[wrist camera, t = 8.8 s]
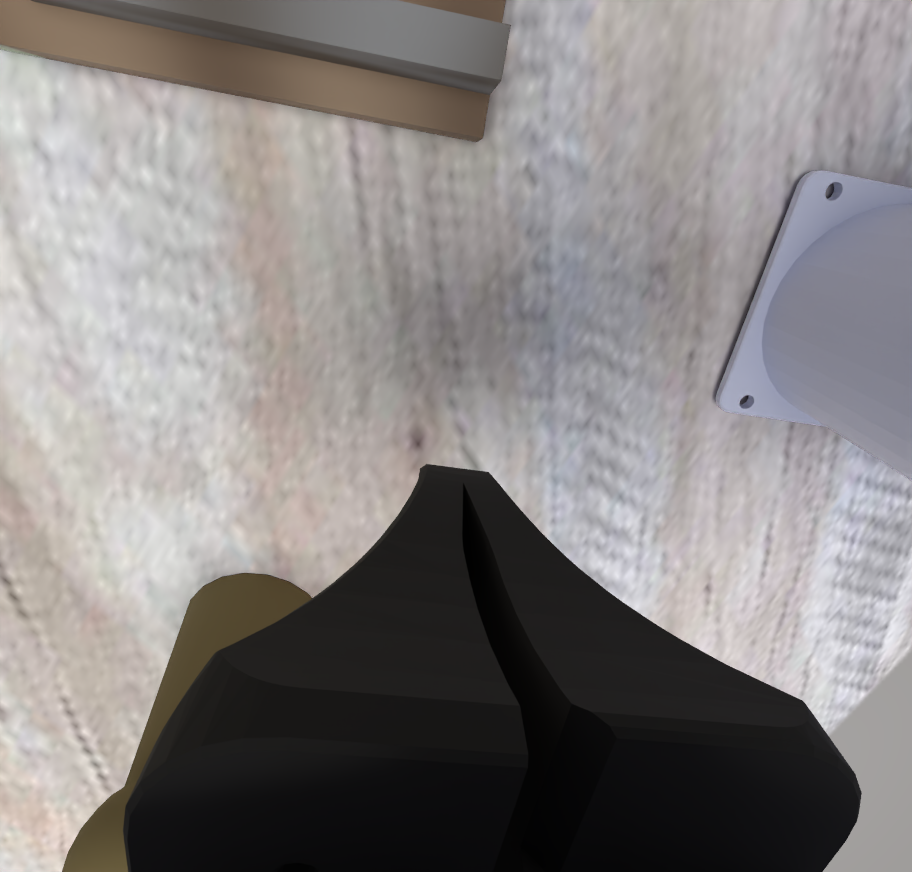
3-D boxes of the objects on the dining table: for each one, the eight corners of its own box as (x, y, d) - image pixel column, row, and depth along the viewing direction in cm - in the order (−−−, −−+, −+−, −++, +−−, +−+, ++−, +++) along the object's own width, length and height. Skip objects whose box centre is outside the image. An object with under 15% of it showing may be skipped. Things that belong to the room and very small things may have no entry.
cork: (288, 555, 23) (179, 854, 13) (350, 657, 25) (298, 973, 15) (156, 598, 23) (-47, 914, 13) (229, 693, 26) (103, 1019, 16)
